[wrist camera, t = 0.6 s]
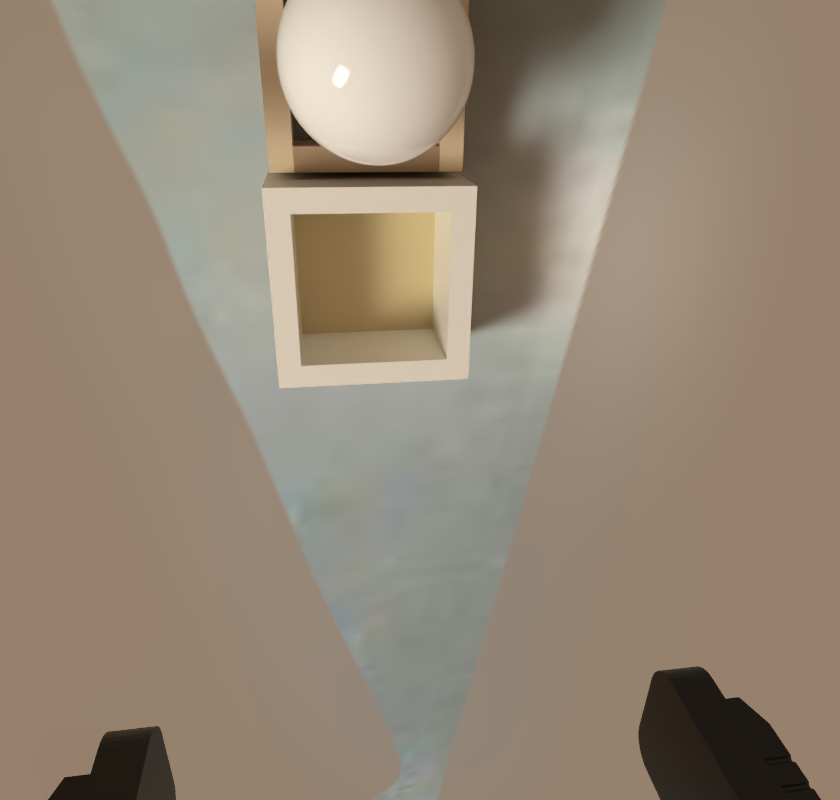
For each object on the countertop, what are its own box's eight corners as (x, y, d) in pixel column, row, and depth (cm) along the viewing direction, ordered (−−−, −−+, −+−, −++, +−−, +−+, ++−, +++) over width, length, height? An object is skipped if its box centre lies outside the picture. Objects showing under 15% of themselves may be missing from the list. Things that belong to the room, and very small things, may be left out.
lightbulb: (456, 18, 28) (533, -11, 19) (402, 165, 31) (445, 209, 21) (311, -52, 26) (313, -126, 17) (266, 110, 29) (243, 129, 19)
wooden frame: (255, -51, 26) (249, -65, 24) (455, -44, 27) (471, -56, 25) (273, 163, 30) (269, 172, 27) (449, 163, 31) (462, 171, 28)
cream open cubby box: (268, 170, 30) (261, 187, 25) (453, 169, 31) (477, 186, 27) (283, 346, 34) (279, 388, 29) (448, 339, 35) (468, 378, 30)
